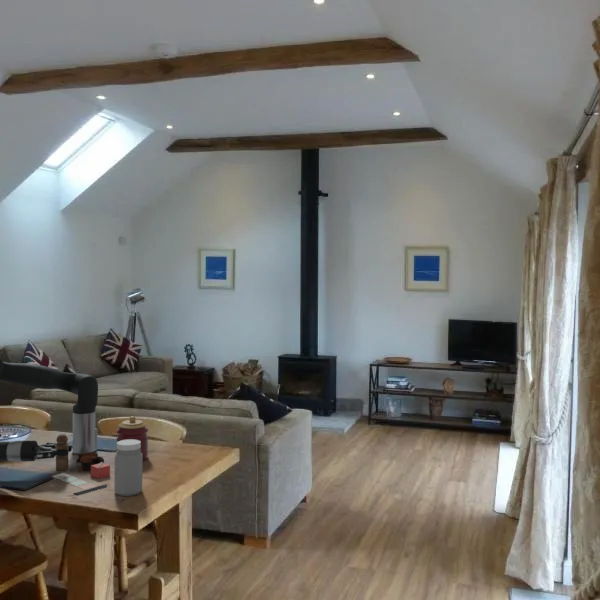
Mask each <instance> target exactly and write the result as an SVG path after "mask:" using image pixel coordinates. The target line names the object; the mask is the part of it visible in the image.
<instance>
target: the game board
mask: <svg viewBox="0 0 600 600" xmlns="http://www.w3.org/2000/svg"><path fill="white" fill-rule="evenodd" d="M52 477H53V478H55V479H57V480H60V481H62V482H65V483H67V484H69V485H72V486H75V487H77V488H80V489H82V490H80V491H77V492H73V493H72V494H73V495H74V494H75V495H74V496H77V497H78V496H81V495H84V494H88V493H92V492H95V491H98V489H99V490H102V489H106V488H107V486H108V485H107V484H102V485H99V486H98V485H97V484H94V483H91V482H88V481H86V480H84V479H80V478H78V477H76V476H73V475H70V474H68V473H66V472H60V473H58V474H54V475H53V474H52V475H51V478H52ZM91 491H92V492H91Z"/></svg>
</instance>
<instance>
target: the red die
mask: <svg viewBox="0 0 600 600" xmlns="http://www.w3.org/2000/svg"><path fill="white" fill-rule="evenodd" d="M110 476H111V464H107V463H105V462H104V463H103V462H101V463H99V464H95V465H91V471H90V477H93V478H96V479H98V480H99V479H103V478H106V477H110Z"/></svg>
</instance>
